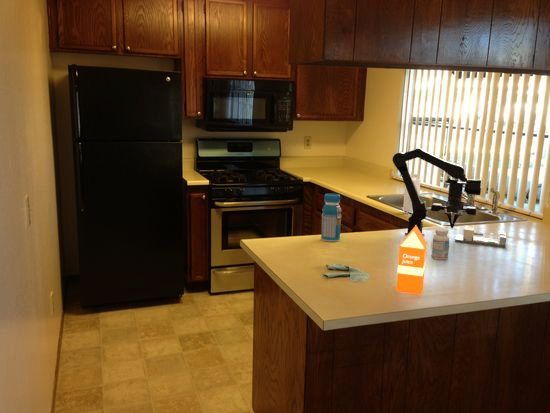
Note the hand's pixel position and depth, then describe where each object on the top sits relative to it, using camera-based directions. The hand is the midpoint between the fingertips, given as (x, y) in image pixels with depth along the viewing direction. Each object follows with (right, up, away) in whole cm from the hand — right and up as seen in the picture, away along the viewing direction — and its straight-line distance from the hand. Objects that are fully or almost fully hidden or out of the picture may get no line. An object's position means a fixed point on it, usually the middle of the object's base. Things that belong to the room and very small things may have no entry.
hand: (451, 228), depth 220 cm
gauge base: (+11, -6, -4) cm, 13 cm away
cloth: (-56, -14, -48) cm, 75 cm away
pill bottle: (-15, -11, -29) cm, 34 cm away
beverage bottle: (-55, -5, -5) cm, 55 cm away
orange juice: (-36, -17, -63) cm, 74 cm away
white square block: (+8, -4, -4) cm, 10 cm away
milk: (-3, +6, +57) cm, 58 cm away
